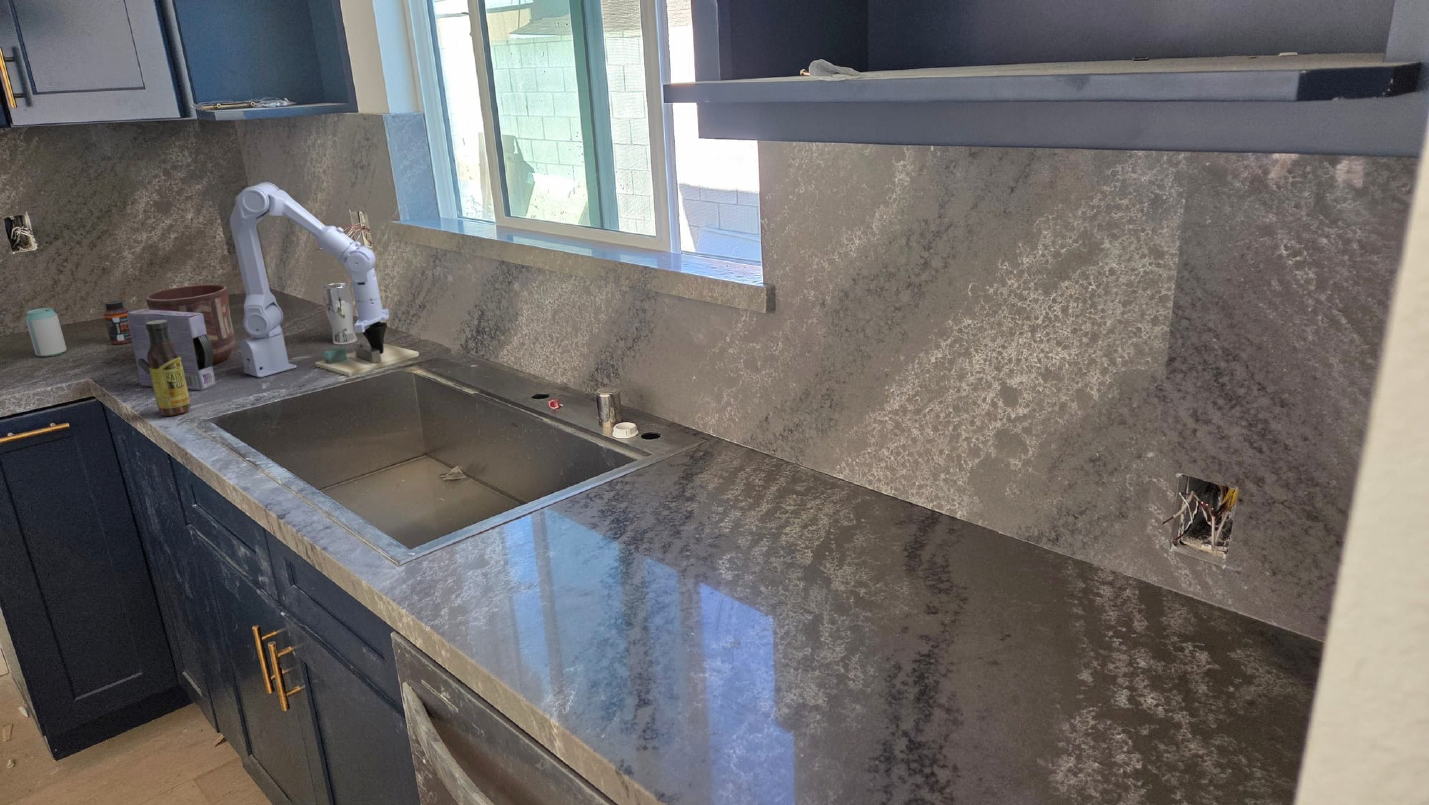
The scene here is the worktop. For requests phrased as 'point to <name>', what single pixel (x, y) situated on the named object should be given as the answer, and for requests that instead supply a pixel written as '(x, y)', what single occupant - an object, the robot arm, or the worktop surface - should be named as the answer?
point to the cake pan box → (175, 345)
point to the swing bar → (367, 353)
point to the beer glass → (339, 312)
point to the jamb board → (362, 360)
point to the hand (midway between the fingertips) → (378, 353)
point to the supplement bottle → (117, 323)
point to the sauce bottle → (166, 371)
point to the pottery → (203, 301)
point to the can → (45, 332)
